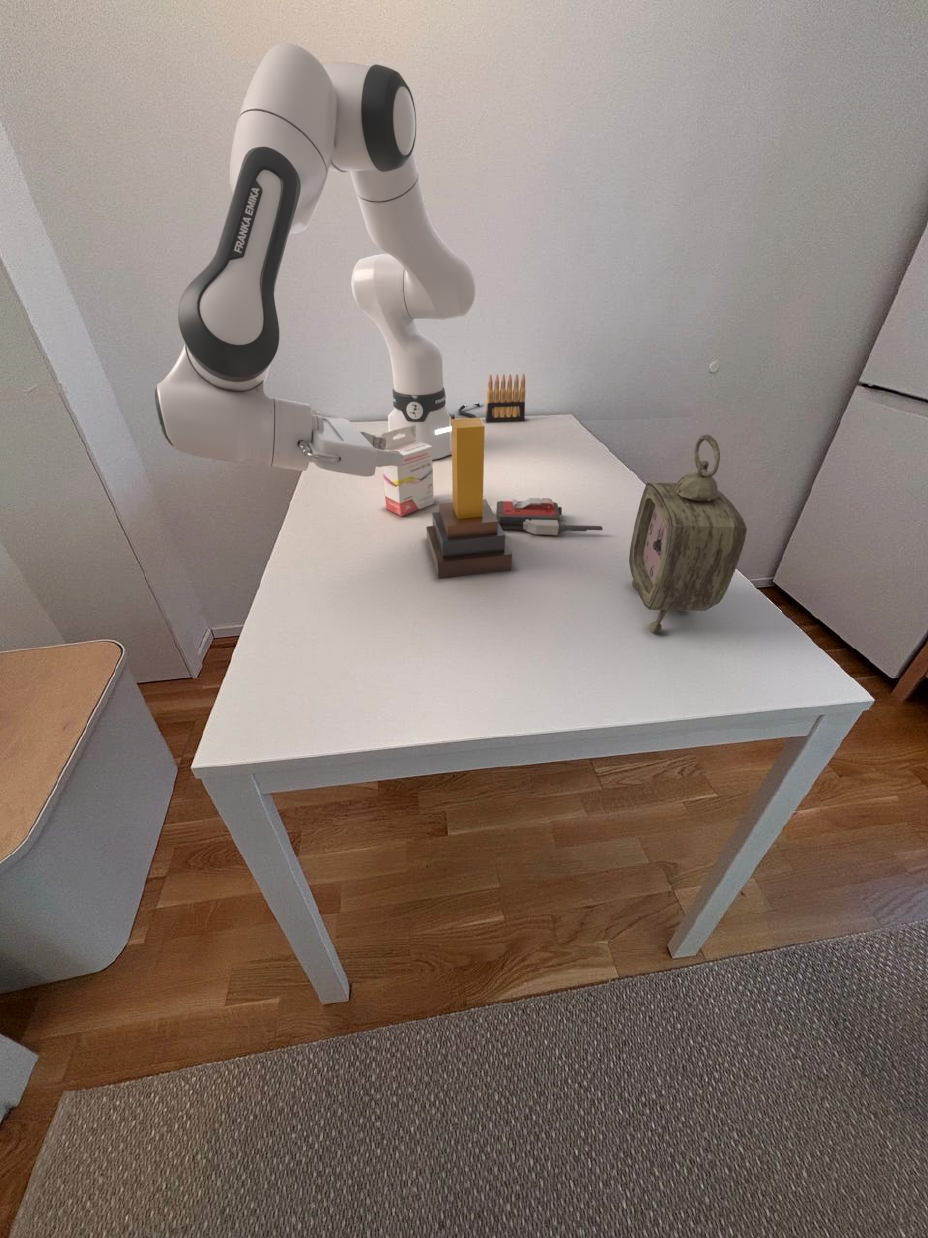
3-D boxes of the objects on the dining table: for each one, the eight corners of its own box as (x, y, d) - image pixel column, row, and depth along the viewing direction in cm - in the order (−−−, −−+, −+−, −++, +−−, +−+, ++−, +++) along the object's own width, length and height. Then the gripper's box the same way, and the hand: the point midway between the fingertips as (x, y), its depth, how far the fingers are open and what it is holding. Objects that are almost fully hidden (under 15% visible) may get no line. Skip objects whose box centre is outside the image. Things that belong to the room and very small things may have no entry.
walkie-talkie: (489, 535, 92) (602, 538, 92) (490, 513, 90) (606, 515, 89) (490, 513, 99) (595, 515, 98) (490, 491, 97) (598, 493, 96)
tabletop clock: (621, 580, 81) (659, 417, 65) (679, 581, 81) (731, 418, 65) (644, 641, 70) (695, 461, 54) (711, 642, 69) (783, 462, 54)
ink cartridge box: (401, 518, 98) (395, 440, 89) (385, 509, 101) (377, 433, 91) (435, 503, 103) (432, 428, 93) (419, 496, 105) (414, 422, 96)
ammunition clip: (486, 422, 142) (487, 375, 134) (485, 420, 143) (486, 373, 136) (524, 421, 143) (527, 374, 135) (523, 419, 144) (526, 372, 137)
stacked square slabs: (427, 541, 91) (424, 499, 86) (493, 534, 93) (494, 492, 88) (438, 578, 82) (436, 534, 77) (511, 570, 84) (514, 526, 79)
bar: (452, 507, 83) (451, 419, 75) (476, 505, 84) (478, 417, 75) (457, 519, 80) (456, 428, 72) (482, 516, 81) (484, 426, 72)
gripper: (306, 428, 60) (417, 446, 66) (288, 398, 76) (379, 415, 82) (301, 481, 63) (408, 493, 69) (286, 442, 79) (374, 455, 85)
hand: (392, 450), depth 76 cm, fingers open, 8 cm apart
